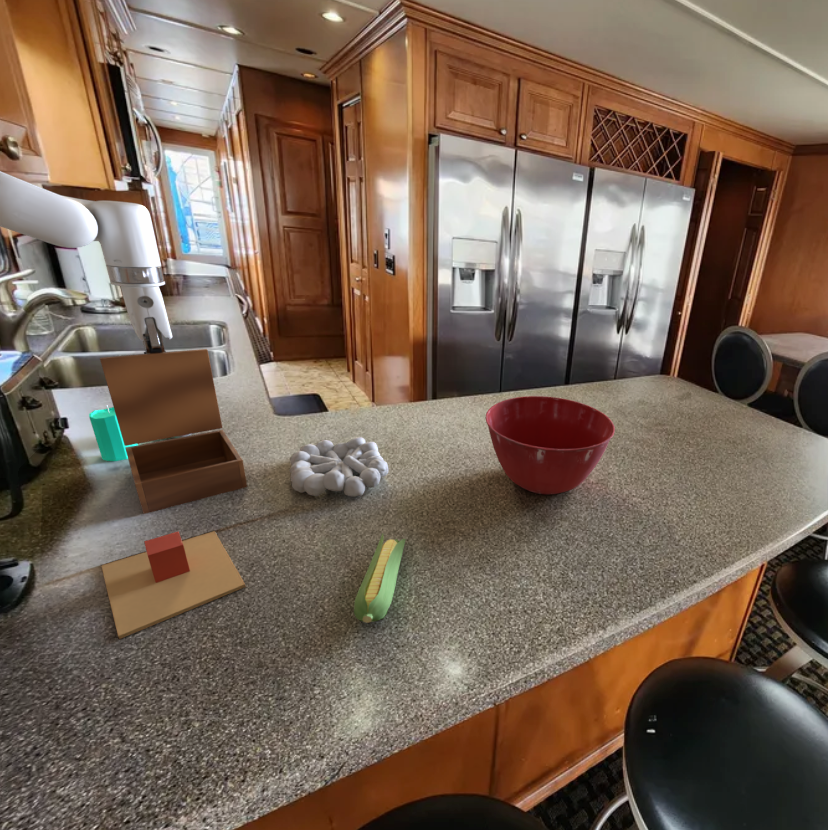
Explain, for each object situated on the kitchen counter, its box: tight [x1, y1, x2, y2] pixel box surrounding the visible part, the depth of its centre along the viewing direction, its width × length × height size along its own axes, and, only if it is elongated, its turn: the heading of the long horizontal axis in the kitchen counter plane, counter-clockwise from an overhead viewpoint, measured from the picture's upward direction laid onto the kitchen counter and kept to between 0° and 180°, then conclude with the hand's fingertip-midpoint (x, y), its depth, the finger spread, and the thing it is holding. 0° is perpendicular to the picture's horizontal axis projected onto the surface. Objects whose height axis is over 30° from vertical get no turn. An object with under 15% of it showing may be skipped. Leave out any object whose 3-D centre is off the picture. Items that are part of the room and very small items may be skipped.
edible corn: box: [353, 532, 407, 624], centre depth 71 cm, size 5×20×5 cm, turn 7°
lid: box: [99, 348, 223, 446], centre depth 90 cm, size 17×16×1 cm
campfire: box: [289, 436, 389, 498], centre depth 97 cm, size 22×21×6 cm
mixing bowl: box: [485, 395, 616, 495], centre depth 103 cm, size 28×28×16 cm
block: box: [143, 530, 190, 583], centre depth 68 cm, size 4×4×5 cm
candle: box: [88, 404, 139, 462], centre depth 95 cm, size 6×6×12 cm
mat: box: [100, 530, 247, 640], centre depth 69 cm, size 20×14×1 cm
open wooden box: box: [125, 429, 248, 515], centre depth 89 cm, size 17×16×7 cm
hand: (159, 371), depth 90 cm, fingers closed
